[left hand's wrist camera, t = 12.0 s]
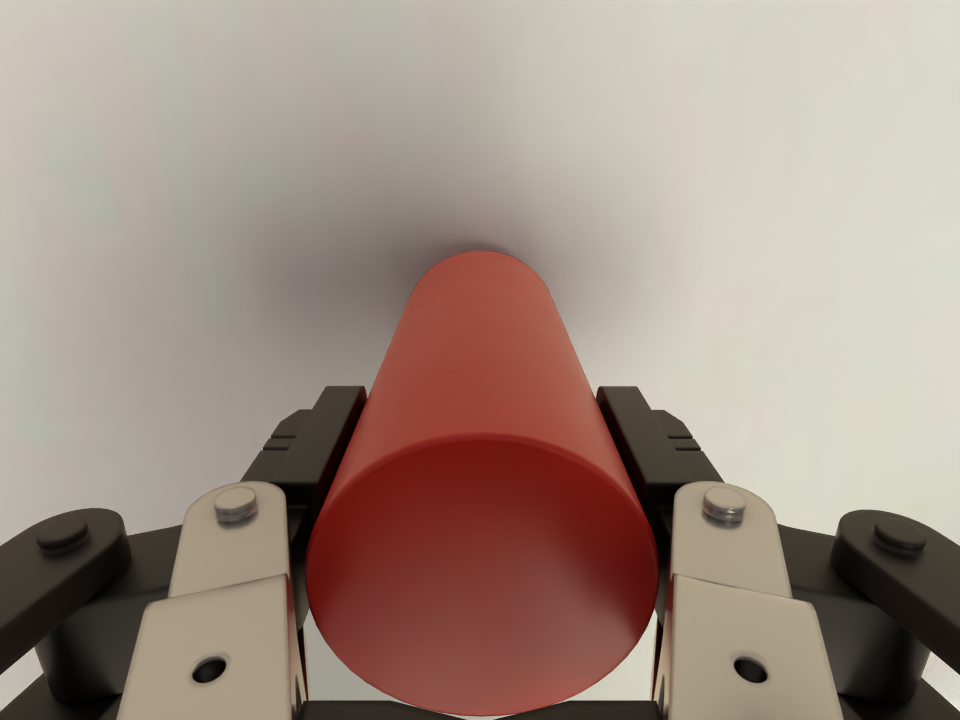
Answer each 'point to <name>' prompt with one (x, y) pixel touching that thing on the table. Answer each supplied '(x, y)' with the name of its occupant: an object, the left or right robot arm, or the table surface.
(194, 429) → the table surface
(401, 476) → the red cylinder
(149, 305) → the table surface
